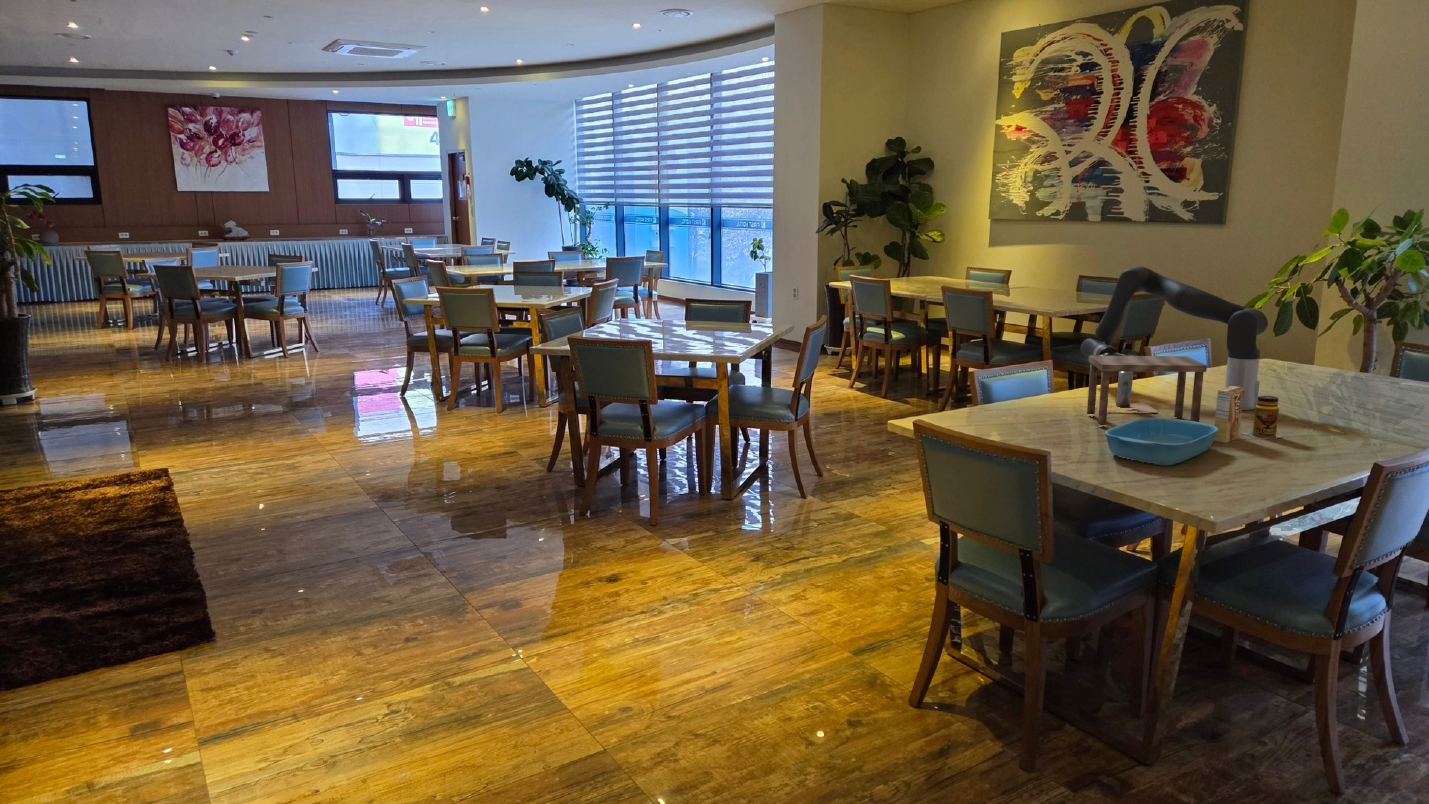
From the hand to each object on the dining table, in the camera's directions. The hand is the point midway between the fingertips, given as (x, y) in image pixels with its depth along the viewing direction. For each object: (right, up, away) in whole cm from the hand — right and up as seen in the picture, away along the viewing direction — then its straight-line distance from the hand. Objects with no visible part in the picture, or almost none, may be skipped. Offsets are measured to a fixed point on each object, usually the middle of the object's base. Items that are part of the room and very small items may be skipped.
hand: (1117, 361), depth 321 cm
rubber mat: (-2, -16, -8) cm, 18 cm away
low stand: (-5, -21, -29) cm, 36 cm away
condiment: (+22, -24, -48) cm, 58 cm away
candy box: (+9, -25, -52) cm, 59 cm away
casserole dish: (-17, -29, -64) cm, 73 cm away
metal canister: (-2, -16, -9) cm, 18 cm away
